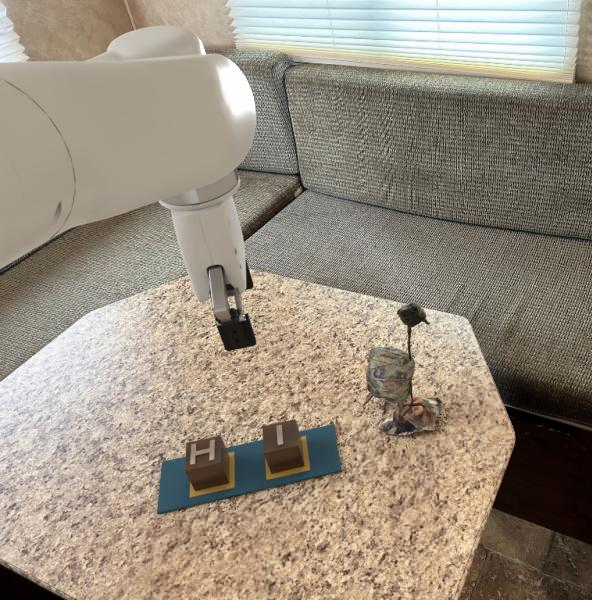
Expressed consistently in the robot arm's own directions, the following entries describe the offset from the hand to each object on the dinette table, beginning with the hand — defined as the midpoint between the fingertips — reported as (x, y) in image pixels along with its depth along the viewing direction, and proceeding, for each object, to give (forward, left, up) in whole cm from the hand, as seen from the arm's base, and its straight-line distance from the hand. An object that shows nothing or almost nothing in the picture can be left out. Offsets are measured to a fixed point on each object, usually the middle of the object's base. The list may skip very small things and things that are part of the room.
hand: (240, 316), depth 66 cm
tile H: (0, +10, -26) cm, 28 cm away
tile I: (0, 0, -26) cm, 26 cm away
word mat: (0, +5, -26) cm, 27 cm away
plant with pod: (+3, -17, -26) cm, 31 cm away
